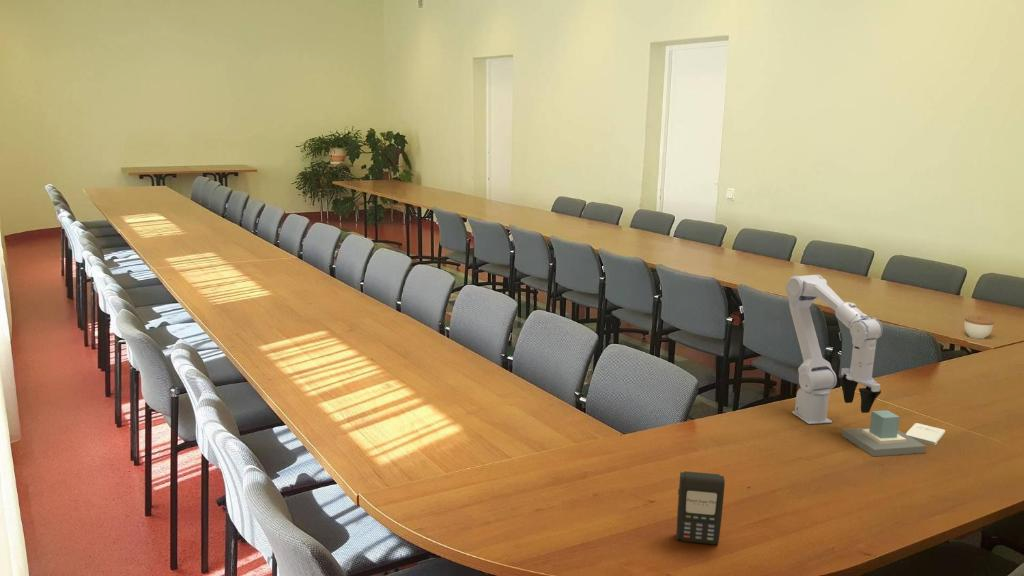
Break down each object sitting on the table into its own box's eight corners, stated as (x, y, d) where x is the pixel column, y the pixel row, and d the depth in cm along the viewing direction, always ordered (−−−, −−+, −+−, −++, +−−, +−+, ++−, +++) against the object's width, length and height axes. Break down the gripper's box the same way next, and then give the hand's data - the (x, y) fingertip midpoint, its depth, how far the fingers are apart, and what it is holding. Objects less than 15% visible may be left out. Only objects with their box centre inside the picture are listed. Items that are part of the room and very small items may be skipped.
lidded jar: (965, 338, 329) (968, 317, 327) (959, 332, 339) (963, 311, 337) (994, 341, 326) (997, 319, 324) (987, 334, 336) (991, 313, 334)
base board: (842, 435, 224) (843, 426, 223) (891, 432, 227) (892, 423, 226) (873, 456, 210) (874, 446, 210) (925, 452, 213) (926, 442, 213)
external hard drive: (903, 439, 224) (914, 427, 233) (935, 447, 219) (945, 434, 228) (904, 434, 223) (915, 422, 233) (935, 442, 218) (945, 429, 228)
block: (869, 431, 220) (871, 411, 218) (885, 430, 221) (887, 410, 219) (880, 438, 215) (883, 417, 214) (896, 437, 216) (899, 417, 215)
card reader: (675, 542, 165) (680, 477, 162) (674, 533, 169) (679, 469, 166) (719, 547, 164) (725, 481, 161) (717, 537, 168) (723, 473, 164)
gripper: (834, 354, 223) (828, 398, 226) (866, 370, 209) (860, 417, 212) (855, 353, 225) (850, 397, 228) (889, 369, 211) (882, 416, 214)
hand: (856, 407), depth 220 cm, fingers open, 7 cm apart
